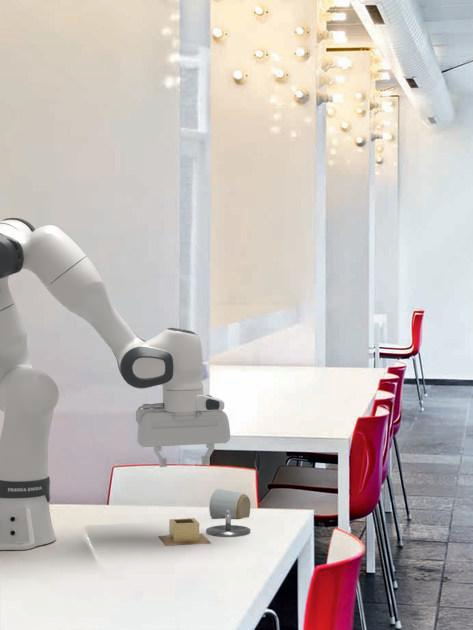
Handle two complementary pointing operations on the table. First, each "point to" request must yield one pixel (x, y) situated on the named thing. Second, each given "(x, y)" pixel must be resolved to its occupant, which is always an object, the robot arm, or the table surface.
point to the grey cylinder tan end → (229, 504)
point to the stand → (169, 542)
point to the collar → (184, 530)
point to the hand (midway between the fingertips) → (184, 465)
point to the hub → (228, 529)
